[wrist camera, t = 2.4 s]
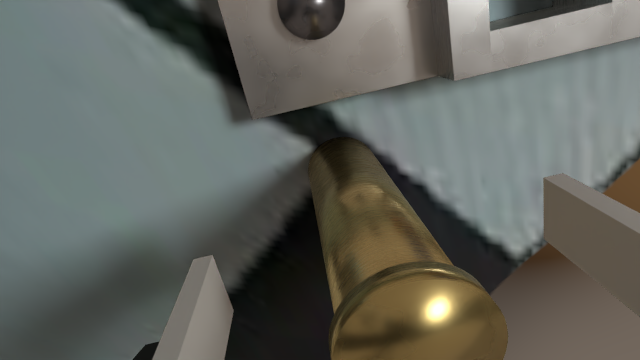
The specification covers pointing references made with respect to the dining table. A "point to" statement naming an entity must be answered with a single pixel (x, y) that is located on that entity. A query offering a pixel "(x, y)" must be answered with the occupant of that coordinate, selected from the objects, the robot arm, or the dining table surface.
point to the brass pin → (392, 270)
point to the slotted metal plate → (399, 43)
